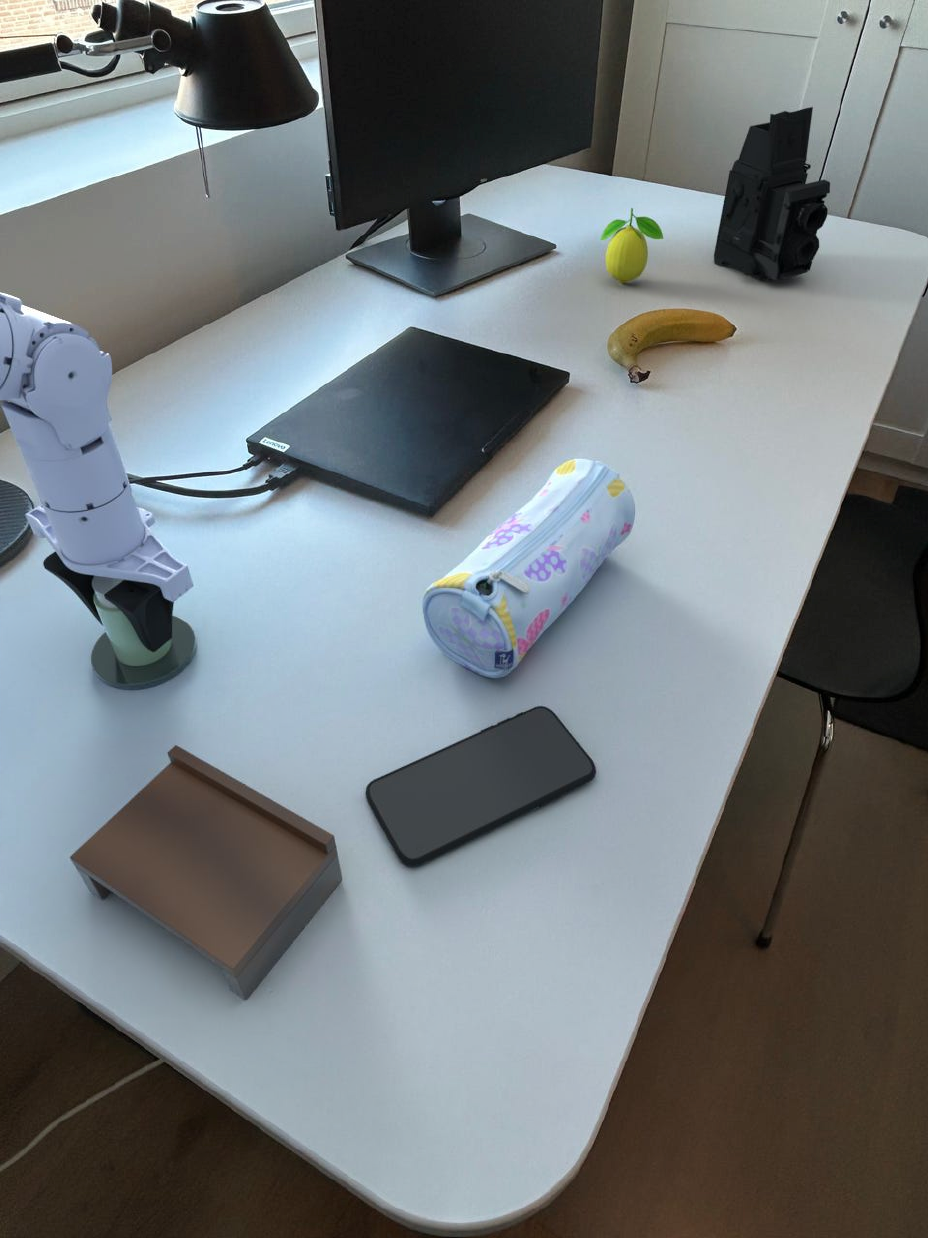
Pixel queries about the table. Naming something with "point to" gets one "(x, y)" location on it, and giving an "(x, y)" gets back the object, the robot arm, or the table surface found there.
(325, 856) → the shelf
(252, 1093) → the table surface
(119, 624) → the shaker
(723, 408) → the table surface
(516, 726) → the smartphone
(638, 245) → the lemon
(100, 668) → the coaster
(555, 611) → the pencil case
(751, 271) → the camera
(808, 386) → the table surface
